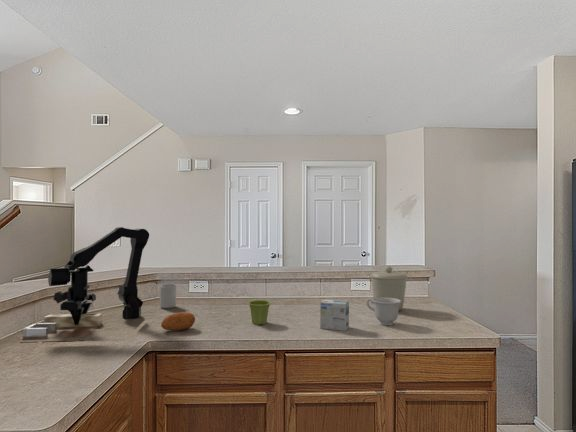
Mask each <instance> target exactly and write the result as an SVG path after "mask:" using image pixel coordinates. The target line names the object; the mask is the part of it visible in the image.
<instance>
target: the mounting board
mask: <svg viewBox="0 0 576 432" xmlns="http://www.w3.org/2000/svg"><path fill="white" fill-rule="evenodd" d="M104 323H105V321H102V324H104ZM100 326H101V325H99V326H90V327H57V331H56V332H48V336H47V337H30V338H23V336H22V337H20V339H21V340H23V339H24V340H25V339H58V338H60V339H61V338H66V339H67V338H84V337H86V336H87V335H88V334H90V333H91V332H93V331H94V330H95V329H97V328H98V327H100ZM66 341H67V340H52V341H48V340H47V341H43V343H61V342H63V343H64V342H65V343H67V342H66ZM84 341H85V340H80V342H84ZM19 343H20V344H28V343H29V344H31V343H37V341H21V342H19Z"/></svg>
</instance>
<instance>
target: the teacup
mask: <svg viewBox="0 0 576 432" xmlns="http://www.w3.org/2000/svg"><path fill="white" fill-rule="evenodd" d="M365 302H366V307H367V308H368V309H369V310H371V311H373V312H374V316H375V318H376V319H377V321H379V324H380V325H382V326H387V325H389V326H393V325H394V322H395V321H397V319H398V317H399V311H400V310H399V304H400V302H401V300H399V299H395V298H388V297H378V298H373V297H372V298H371V297H368V298H367V299H366V301H365ZM369 302H371V304H372V305H373V307H372V306H371V305H370V303H369ZM398 310H399V311H398Z"/></svg>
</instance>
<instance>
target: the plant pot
mask: <svg viewBox="0 0 576 432" xmlns="http://www.w3.org/2000/svg"><path fill="white" fill-rule="evenodd" d="M248 305H249V309H250V317H251V323H252V324H253V325H256V326H259V325H265V324H267V322H268V315H269V308H270V305H271V301H269V300H262V299H261V300H259V299H258V300H257V299H256V300H250V301H249V302H248Z"/></svg>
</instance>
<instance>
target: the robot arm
mask: <svg viewBox="0 0 576 432" xmlns="http://www.w3.org/2000/svg"><path fill="white" fill-rule="evenodd" d="M121 238H128V239H130V246H131V249H130V256H129V260H128V266H127V272H126V275H125V281H124V283H123V284H119V286H118V292H117V293H116V295H118V299H119V301H120V302H122V304H123V306H124V307H123V309H122V319H126V320H132V319H139V318H141V316H142V307H143V304H144V301H143V300H141V299H140V297H138V295H139V294H138V293H139V292H138V291H139V290H138V285H137V281H138V276H139V272H140V267H141V266H140V265H141V261H142V255H143V251H144V249H145V247H146V245H147V243H148V241H149V238H150V233H149V231H148V230H147V229H145V228H135V229H132V228H127V227H126V228H125V227H123V226H121V227H120V226H117V227H115V228H114V229H113V230H112V231H110V232H109V233H107V234H105V235H104V236H103V237H101V238H100V239H98V240H97V241H95V242H94V243H92V244H89V245H88V246H86V247H83V248H81V249H78V250H77V251H74V252H72V254H71V255H70V256H69V261H68V262H67V263H66V265H65V266H64V267H50V268H49V273H48V276H47V277H48V278H47V280H48V286H49V287H57V286H67V285H68V284H69V283H70V284H71V285H70V286H69V287H68V288H67V290H66V291H64V292H62V291H58V292H55V293H54V295H53V301H55V302H56V304H60V303H61V304H60V305H59V306H60V309H59V310H60V311H68V312H69V314H71V315H72V318H73V321H74V324H75V325H78V324H79V321H80V318H81V315H82V314H88V311H89V310H90V308H91V307H92V304H93V302H95V301H96V300H97V295H96V294H95V293H92V292H90V293H88V289H90V284H89V283H88V278H89V274H88V273H89V272H94V269H93V268H92V267H91V266H90V265H88V264H89V263H90V262H91V261H93V260H94V258H95V257H96V256H97V255H98V254H99V253H100V252H102V251H103V250H105V249H106V248H108V247H109V246H111V245H112V244H113V243H115V242H117V241H118V240H120V239H121ZM89 301H91V302H89Z"/></svg>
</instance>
